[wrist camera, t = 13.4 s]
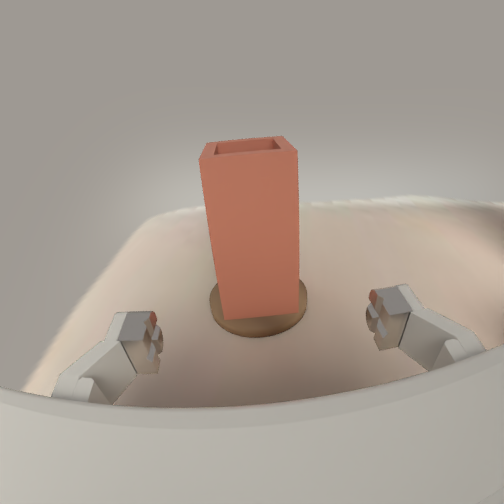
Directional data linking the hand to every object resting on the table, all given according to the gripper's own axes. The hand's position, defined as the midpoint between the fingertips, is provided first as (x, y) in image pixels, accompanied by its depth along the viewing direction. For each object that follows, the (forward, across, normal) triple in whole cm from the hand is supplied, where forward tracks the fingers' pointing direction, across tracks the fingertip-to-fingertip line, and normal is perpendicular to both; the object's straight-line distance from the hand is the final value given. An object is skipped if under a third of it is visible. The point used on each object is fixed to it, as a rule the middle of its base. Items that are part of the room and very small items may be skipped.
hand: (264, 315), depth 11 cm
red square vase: (+12, 0, +8) cm, 14 cm away
